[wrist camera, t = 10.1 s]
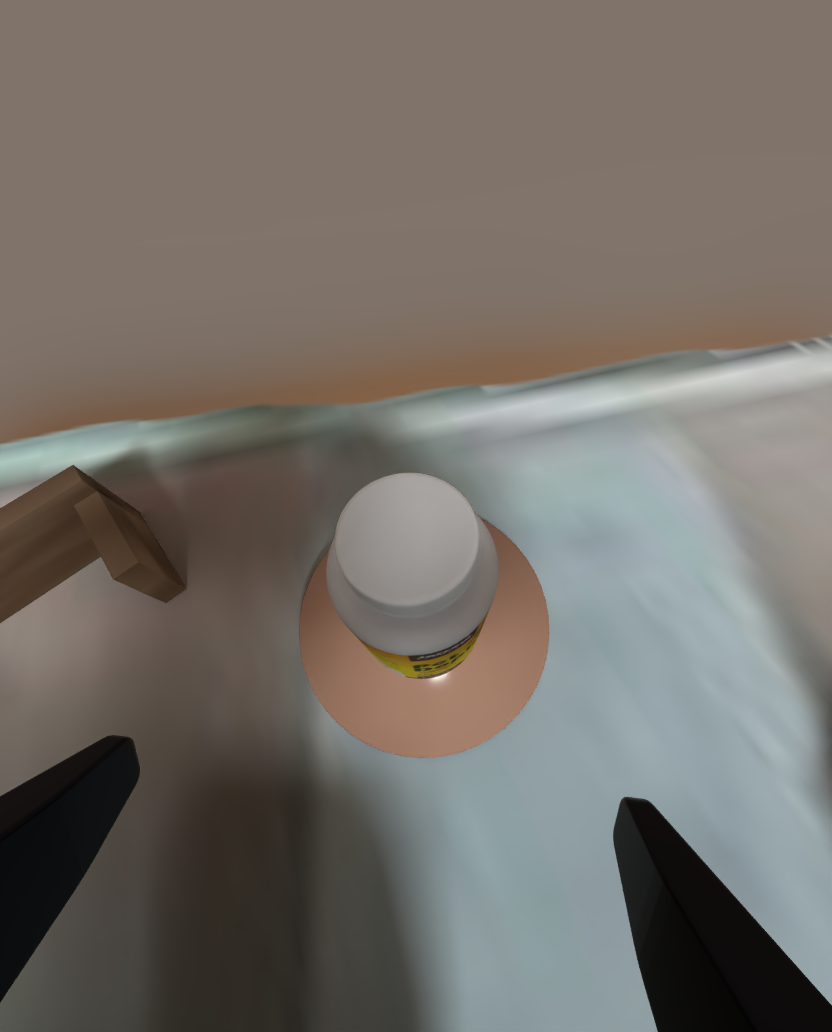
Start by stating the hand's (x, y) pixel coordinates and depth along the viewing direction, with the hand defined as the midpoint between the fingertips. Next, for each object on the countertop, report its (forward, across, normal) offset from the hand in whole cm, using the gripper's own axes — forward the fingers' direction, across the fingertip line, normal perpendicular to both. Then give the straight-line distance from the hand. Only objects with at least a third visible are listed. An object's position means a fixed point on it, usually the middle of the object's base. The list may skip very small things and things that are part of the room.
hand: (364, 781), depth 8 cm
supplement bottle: (+12, 0, +4) cm, 13 cm away
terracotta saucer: (+13, 0, +5) cm, 14 cm away
